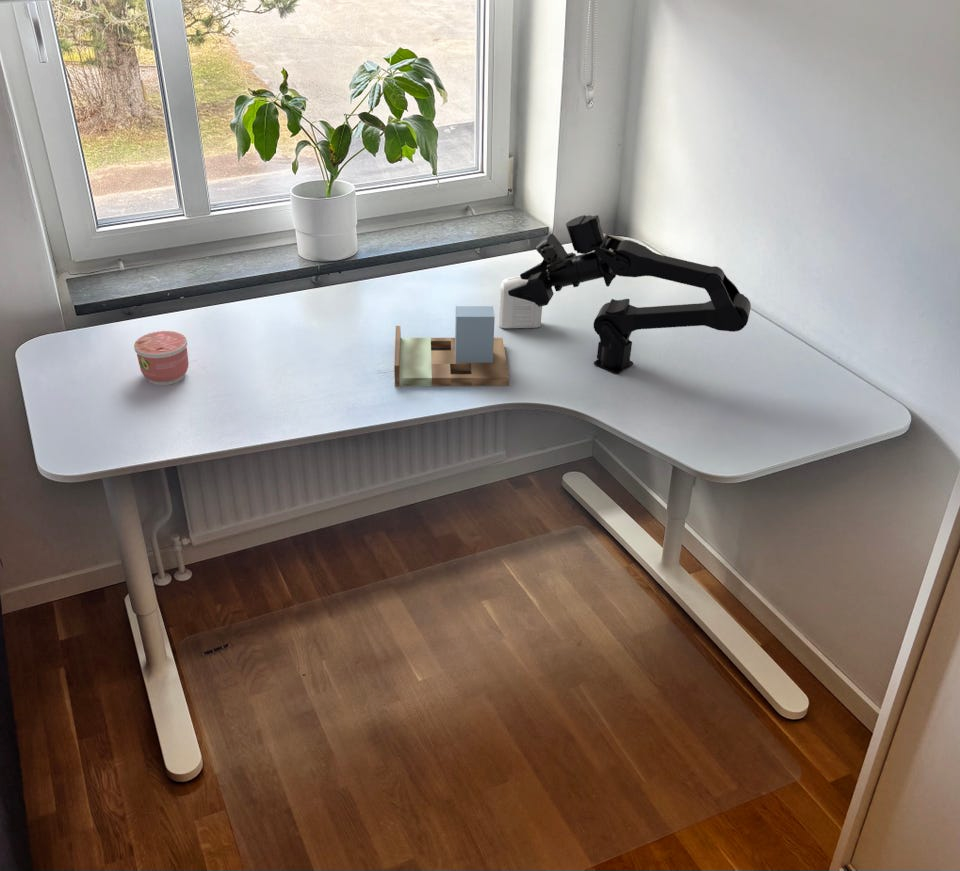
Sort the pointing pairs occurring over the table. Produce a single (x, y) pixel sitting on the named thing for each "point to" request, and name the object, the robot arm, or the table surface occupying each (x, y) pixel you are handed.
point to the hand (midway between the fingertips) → (514, 284)
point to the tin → (474, 334)
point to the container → (162, 356)
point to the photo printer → (517, 307)
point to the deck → (444, 364)
